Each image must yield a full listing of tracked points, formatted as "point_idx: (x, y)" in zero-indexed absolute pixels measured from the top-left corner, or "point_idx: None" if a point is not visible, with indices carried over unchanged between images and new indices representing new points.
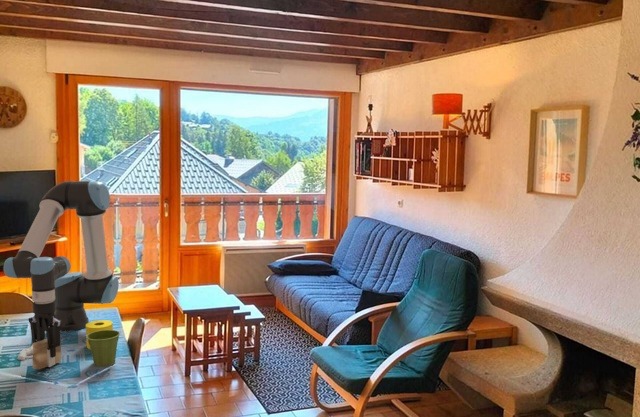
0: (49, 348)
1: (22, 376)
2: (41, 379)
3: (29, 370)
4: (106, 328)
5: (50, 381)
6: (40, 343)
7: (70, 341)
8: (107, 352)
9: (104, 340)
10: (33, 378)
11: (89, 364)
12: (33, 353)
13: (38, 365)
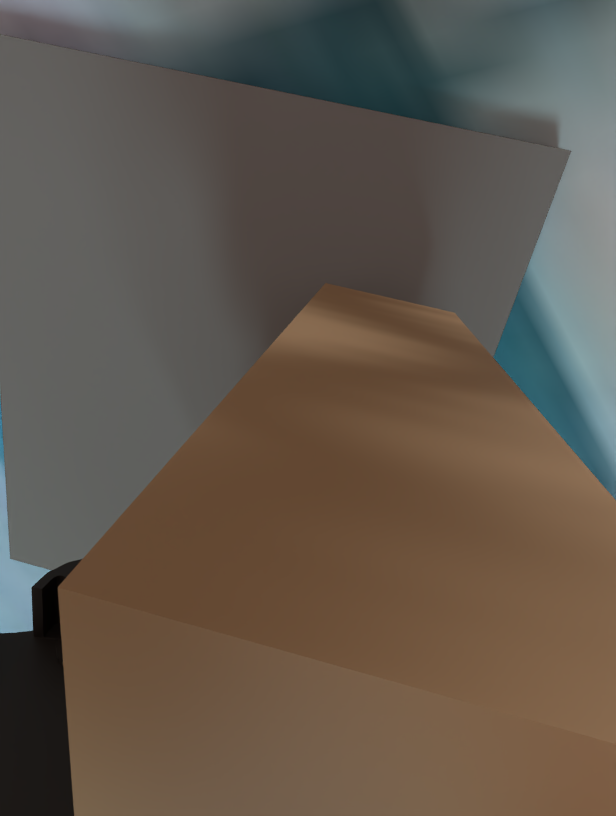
0: (39, 581)
1: (532, 148)
2: (172, 71)
3: (541, 386)
4: None
5: (20, 42)
6: (142, 744)
7: None
8: None
9: None
10: (321, 104)
11: (22, 580)
12: (502, 395)
13: (338, 297)
